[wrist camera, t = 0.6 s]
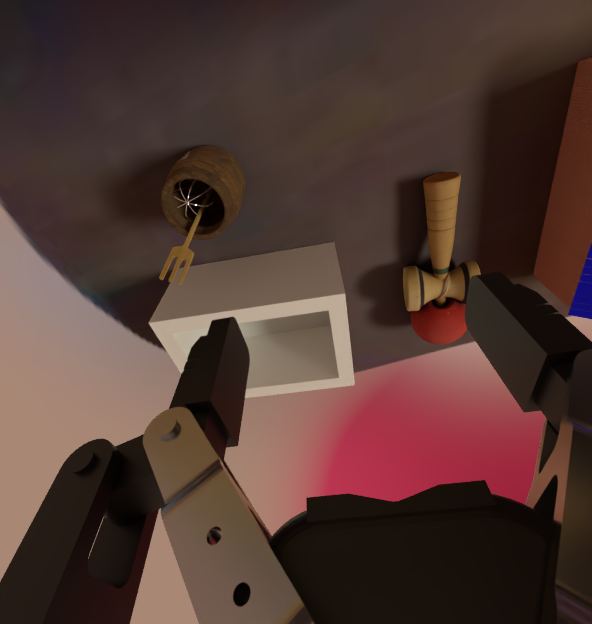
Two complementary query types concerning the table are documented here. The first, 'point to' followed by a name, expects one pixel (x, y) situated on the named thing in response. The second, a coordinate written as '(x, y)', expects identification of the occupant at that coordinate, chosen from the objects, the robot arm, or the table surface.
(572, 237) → the house
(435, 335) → the kendama
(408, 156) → the table surface
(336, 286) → the open rectangular box
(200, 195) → the utensil holder
